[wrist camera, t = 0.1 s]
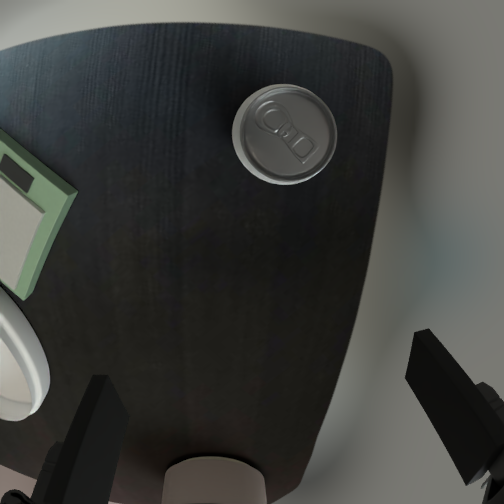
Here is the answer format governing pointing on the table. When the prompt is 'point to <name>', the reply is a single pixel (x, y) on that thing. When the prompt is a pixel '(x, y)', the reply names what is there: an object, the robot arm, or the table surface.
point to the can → (284, 134)
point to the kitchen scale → (28, 214)
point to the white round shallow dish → (20, 364)
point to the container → (213, 482)
